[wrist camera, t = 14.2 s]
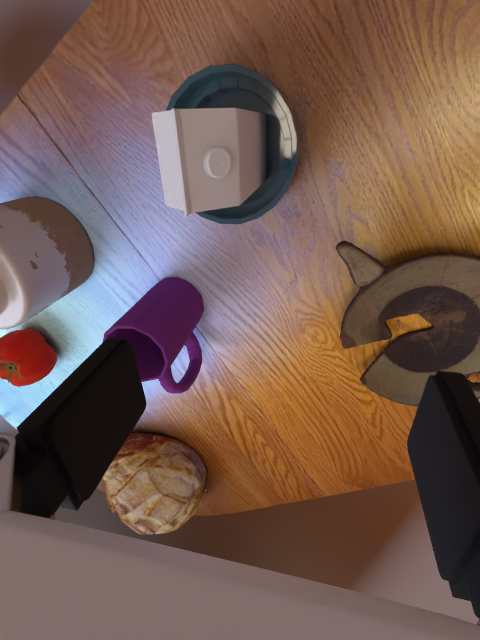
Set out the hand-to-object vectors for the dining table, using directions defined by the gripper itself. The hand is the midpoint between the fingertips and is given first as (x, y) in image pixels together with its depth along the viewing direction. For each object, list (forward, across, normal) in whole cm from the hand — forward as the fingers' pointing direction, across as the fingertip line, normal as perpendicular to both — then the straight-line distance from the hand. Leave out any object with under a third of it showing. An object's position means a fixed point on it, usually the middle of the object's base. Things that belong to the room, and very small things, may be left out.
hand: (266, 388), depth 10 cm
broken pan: (+36, -16, +15) cm, 43 cm away
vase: (+36, +41, +8) cm, 55 cm away
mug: (+36, +19, +20) cm, 46 cm away
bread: (+36, +31, +63) cm, 79 cm away
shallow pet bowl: (+36, +9, -5) cm, 38 cm away
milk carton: (+36, +9, -5) cm, 37 cm away
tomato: (+36, +52, +29) cm, 70 cm away
